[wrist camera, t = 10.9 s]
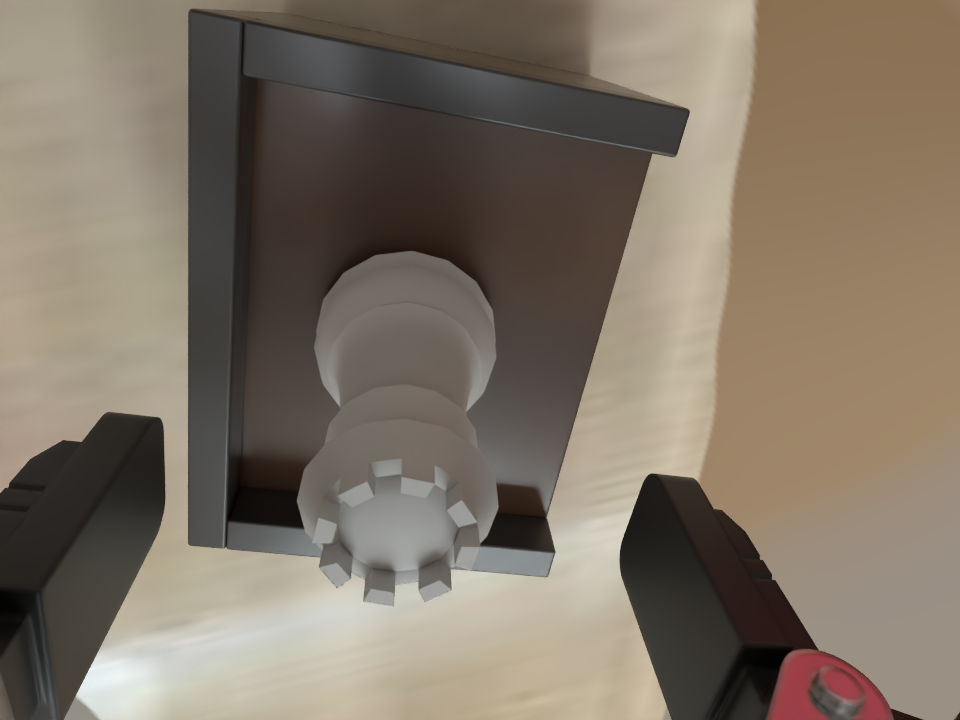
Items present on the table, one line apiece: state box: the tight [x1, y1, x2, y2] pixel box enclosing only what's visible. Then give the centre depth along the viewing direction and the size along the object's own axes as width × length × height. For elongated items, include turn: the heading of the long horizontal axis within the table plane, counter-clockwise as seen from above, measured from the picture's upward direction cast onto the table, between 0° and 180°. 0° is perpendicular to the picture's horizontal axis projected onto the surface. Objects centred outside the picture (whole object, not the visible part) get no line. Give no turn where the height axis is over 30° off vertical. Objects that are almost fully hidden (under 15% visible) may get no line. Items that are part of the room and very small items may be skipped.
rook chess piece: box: [297, 251, 499, 606], centre depth 14 cm, size 4×4×8 cm
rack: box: [188, 9, 690, 577], centre depth 20 cm, size 13×10×10 cm
